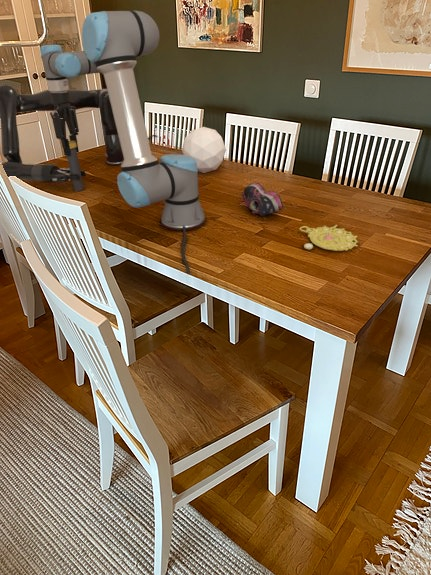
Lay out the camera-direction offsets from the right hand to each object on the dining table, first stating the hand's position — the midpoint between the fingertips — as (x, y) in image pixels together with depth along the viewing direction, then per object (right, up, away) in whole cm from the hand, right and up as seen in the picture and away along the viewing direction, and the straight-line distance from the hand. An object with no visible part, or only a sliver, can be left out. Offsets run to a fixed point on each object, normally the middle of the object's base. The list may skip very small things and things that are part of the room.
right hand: (71, 153), depth 179 cm
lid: (0, +3, -2) cm, 4 cm away
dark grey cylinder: (0, -13, +8) cm, 15 cm away
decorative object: (+95, -39, -38) cm, 109 cm away
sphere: (+53, -1, +24) cm, 59 cm away
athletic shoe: (+74, -26, -17) cm, 80 cm away
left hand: (+3, -8, +4) cm, 9 cm away
